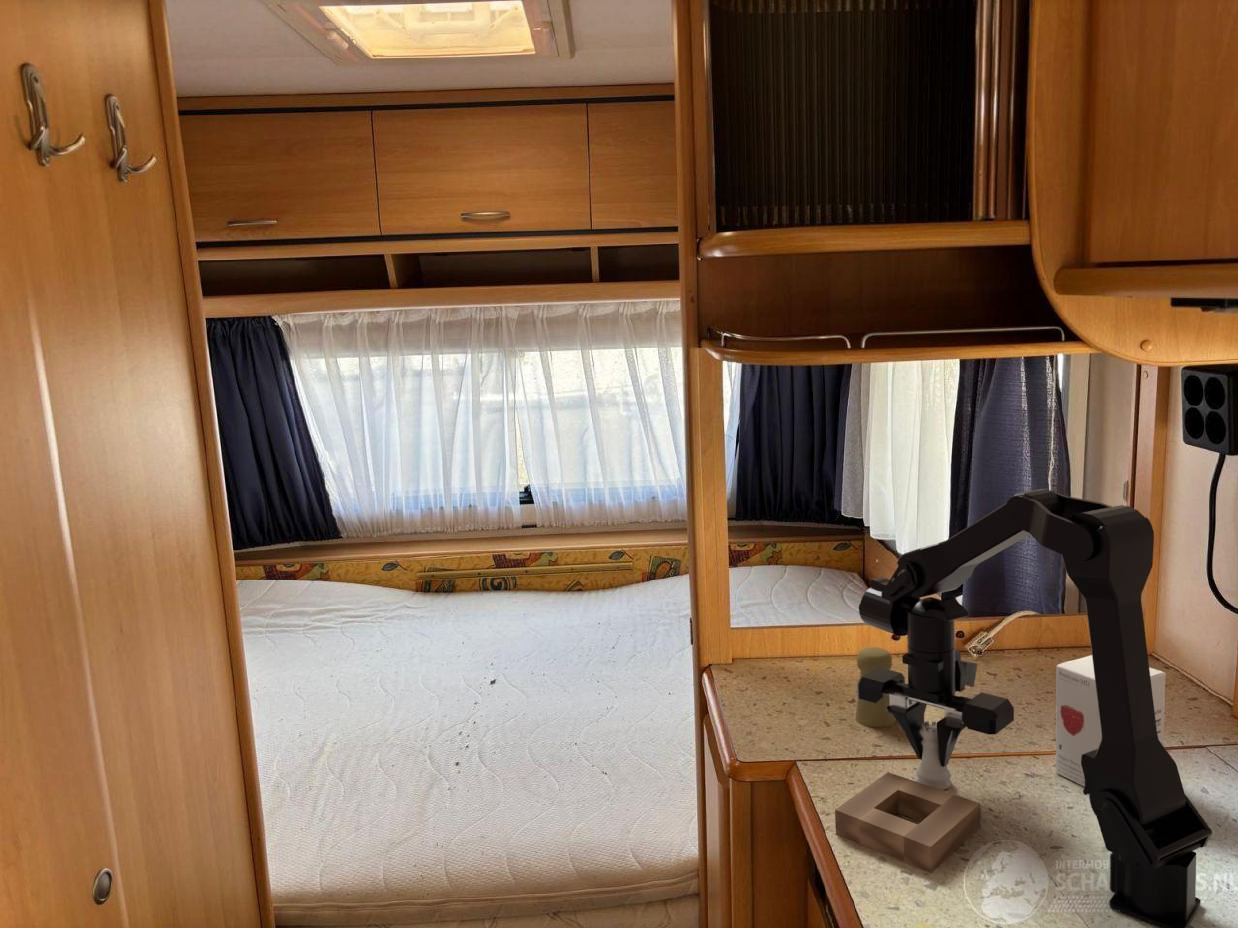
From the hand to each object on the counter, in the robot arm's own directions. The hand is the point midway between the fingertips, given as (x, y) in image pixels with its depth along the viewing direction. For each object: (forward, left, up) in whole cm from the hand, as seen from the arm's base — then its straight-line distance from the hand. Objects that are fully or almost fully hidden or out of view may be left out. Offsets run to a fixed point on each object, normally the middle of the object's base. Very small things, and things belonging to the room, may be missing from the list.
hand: (933, 761), depth 114 cm
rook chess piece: (0, 0, -3) cm, 3 cm away
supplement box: (-16, -15, -3) cm, 22 cm away
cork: (+16, -13, -3) cm, 21 cm away
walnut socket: (-3, +12, -3) cm, 13 cm away
